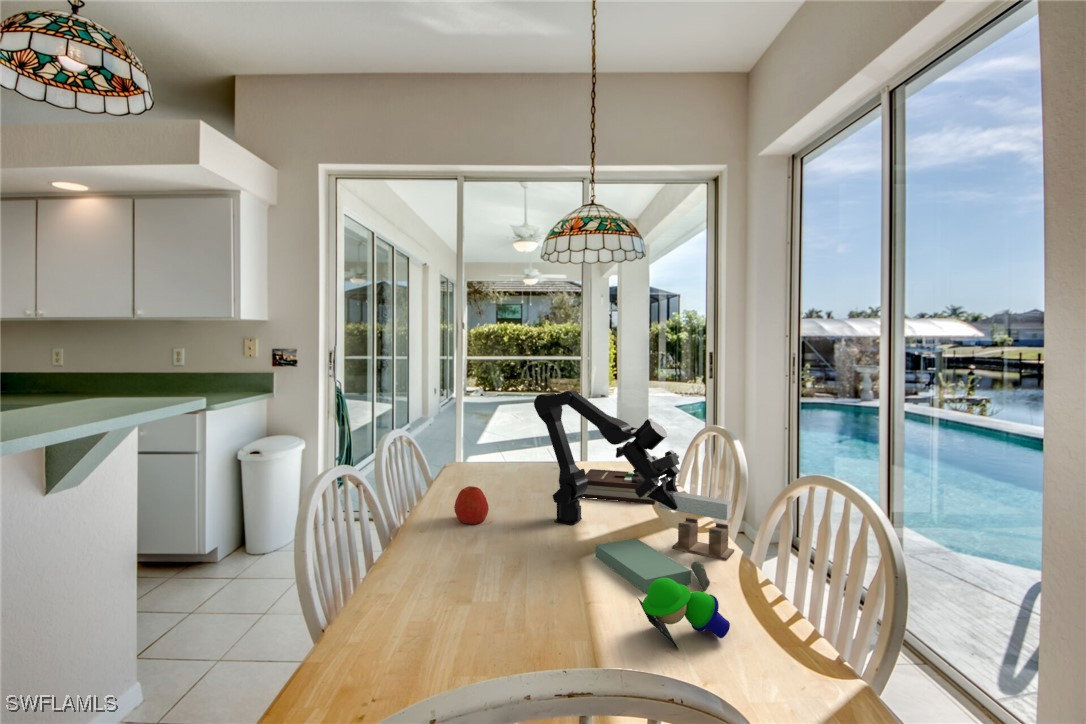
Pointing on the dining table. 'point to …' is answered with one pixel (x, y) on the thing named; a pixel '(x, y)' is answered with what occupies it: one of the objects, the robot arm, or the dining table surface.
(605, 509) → the dining table surface
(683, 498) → the rail
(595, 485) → the decorative book
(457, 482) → the dining table surface
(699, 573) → the stone
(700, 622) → the toy
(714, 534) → the rack
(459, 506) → the apple
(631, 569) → the green rectangular slab
